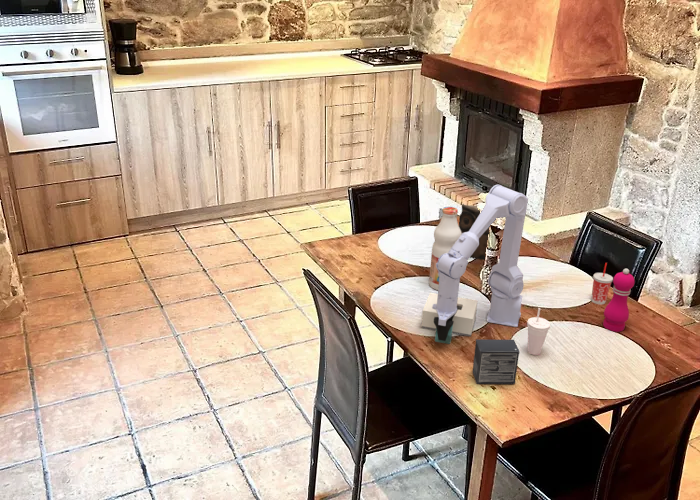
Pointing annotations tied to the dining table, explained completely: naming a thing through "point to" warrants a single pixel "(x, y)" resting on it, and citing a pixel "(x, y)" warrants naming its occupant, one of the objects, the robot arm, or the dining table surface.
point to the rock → (465, 224)
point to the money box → (461, 319)
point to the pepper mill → (619, 302)
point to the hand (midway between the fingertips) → (443, 334)
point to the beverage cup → (601, 287)
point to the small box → (495, 361)
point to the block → (448, 339)
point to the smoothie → (537, 333)
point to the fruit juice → (443, 241)
